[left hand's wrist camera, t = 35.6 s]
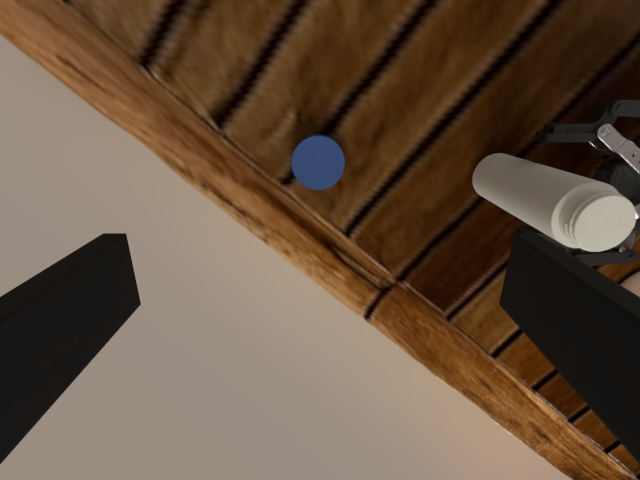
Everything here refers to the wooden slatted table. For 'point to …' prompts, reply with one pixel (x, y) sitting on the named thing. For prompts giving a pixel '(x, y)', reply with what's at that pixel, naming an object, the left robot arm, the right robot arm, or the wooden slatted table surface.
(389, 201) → the wooden slatted table surface
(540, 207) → the white bottle
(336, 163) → the lid
